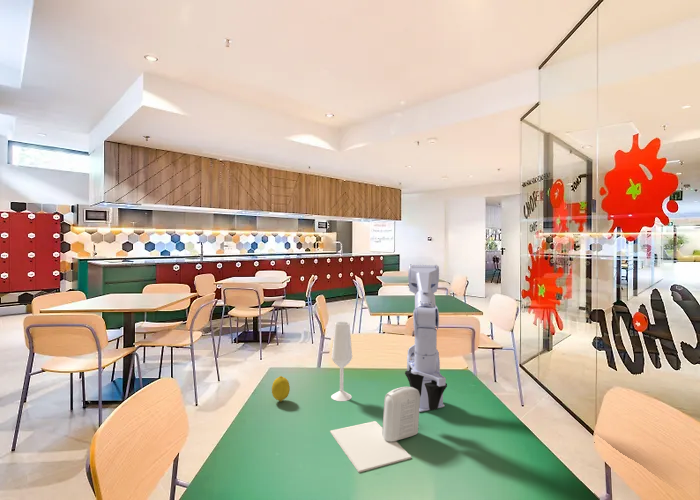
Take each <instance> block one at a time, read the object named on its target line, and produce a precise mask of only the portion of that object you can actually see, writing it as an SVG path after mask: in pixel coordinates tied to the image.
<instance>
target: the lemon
mask: <svg viewBox="0 0 700 500" xmlns="http://www.w3.org/2000/svg"><path fill="white" fill-rule="evenodd" d="M290 388H291V387H290V382H289V380H288V379H287V378H286V377H284V376H282V375H280V376H278V377H276V378H275V379H274V380H273V381H272V386H271V394H272V397H273V398H274V400H276V401H278V402H283V401H284V400H285V399H287V398H288V397H289V394H290V391H291V390H290Z"/></svg>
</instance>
